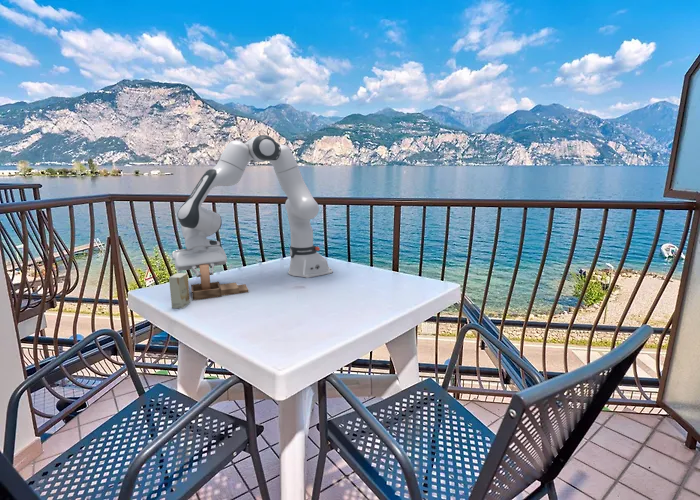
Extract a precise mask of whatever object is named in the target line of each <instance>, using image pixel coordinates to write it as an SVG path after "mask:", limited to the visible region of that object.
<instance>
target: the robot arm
mask: <svg viewBox="0 0 700 500" xmlns="http://www.w3.org/2000/svg"><path fill="white" fill-rule="evenodd" d="M249 162H254V163H263V162H264V163H265V162H269V163H270V164H271V165H272V167H273V170H274V173H275V175H276V178H277V180H278V183H279V185H280V187H281V190H282V191H283V193H284V194H285V195H286V197H287V199H286V200H285V205H284V207H285V209H286V212H287V213H286V214H287V218H288V223H289V228H290V229H289V230H290V231H289V232H290V245H289V257H290V261H289V262H290V263H289V268H288V272H287V273H288V274H289V275H290V276H293V277H300V278H301V277H302V278H307V279H308V278H309V279H310V278H314V277H318V276H323V275H324V276H325V275H329V274H333V268H331V267H330V266H329V263H328V260H327V259H326V258H325V257H324V256H323V255H322V254H320V253H319V251H320V250H321V248H320V247H319V246H316V245H314V229H313V227H312V224H311V221H310V220H312V219H314V218H315V217H317V215H318V214H319V211H320V210H319V209H320V206H319V204H318V202H317V201H316V200H315V198H314V197H313V195H312V193H311V191H310V189H309V187H308V186H307V184H306V183H305V180H304V178H303V175H302V172H301V170H300V167H299V165H298V162H297V160H296V158H295V156H294V154H293V152H292V149H290V147H289V146H288V145H285V144H279V143H278V142H277V141H275V139H274V138H273V137H271V136H269V135H268V134H266V135H265V134H261V135H256V136H253V137H252V138H249V139H248V140H246V141H245V142H242V141H240V140H231V141H229V143H227V145H226V146H225V148H224V150H223V152H222V153H221V156H220V157H219V159H218V161H217V163H216V164H215V166H214V167H213V168H209V169H207V170H206V171H205V172H204V174H203V175H202V176H201V178H200V179H199V180H198V182H197V184H196V186H195V187H194V188H193V190H192V192H191V193H190V195H189V196H188V198H187V199H186V200H185V202H184V203H183V204H182V205H181V206H180V208H179V209H178V210H177V215H176V216H177V219H178V222H179V224H180V227H181V234H182V236H183V238H184V245H185V248H181V249H175V250H173V251H172V252H171V256H172V258H173V260H174V267H175V270H177V271H178V272H183V271H188V270H191V271H192V273H194V274H195V276H196V278H200V277H201V273H200V270H197V269H200V267H199V265H202V264H208V265H209V273H210V276H214V268H215V266H216V267H217V266H224V265H226V264H227V261H228V257H227V254H226V251H225V250H224V248H223V247H222V246H221V243H220V241H219V240H214V239H208V238H207V237H210V236H213V235H214V234H216V233H217V232H218V231H220V229H221V227H222V222H223V221H222V217H221V215H220V214H219V213H218V212H215V211H213V210H210V209H207V208H204V207H202V205H203V203H204V201H206V198H207V196H208V195H209V194H210V192H211V190H213V189H214V188H217V187H232V186H234V185H237V184H238V183H239V182H240V181H241V180H242V177H243V175H244V173H245V170H246V168H247V165H248V164H249Z"/></svg>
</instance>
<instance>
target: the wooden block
mask: <svg viewBox="0 0 700 500" xmlns="http://www.w3.org/2000/svg"><path fill="white" fill-rule="evenodd" d="M199 267H200V268H199V271H200V273H201V277H199V278H200V284H201V290H209V289H211V286H210V283H211V275H210V273H209V270H210V267H209V265H208V264H202V265H199Z"/></svg>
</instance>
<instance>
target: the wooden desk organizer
mask: <svg viewBox="0 0 700 500" xmlns="http://www.w3.org/2000/svg"><path fill="white" fill-rule="evenodd" d="M210 286H211V289H209V290H201V283H194V284H193V283H192V284H190V287H191V296H192V297H191V300H192V301H199V300H206V299H207V300H209V299H215V298H222V297H223V296H231V295H232V296H233V295H238V294H240V295H241V294H247V293H249V291H250V290H249V288H248V286H247V284H245V283H244V284H243V283H242V284H237V282H229V283H221V284H220V281H212V282H211V281H210Z"/></svg>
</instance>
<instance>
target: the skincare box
mask: <svg viewBox="0 0 700 500" xmlns="http://www.w3.org/2000/svg"><path fill="white" fill-rule="evenodd" d="M168 280H169V281H168V282H169V289H170V291H169V292H170V302H171V309H184V308H186V306H188V305H190V304H191V299H190V288H189V287H190V285H189V276H188V272H187V273H185V272H177V273H174V274H172V275H171V276H170V277H169V278H168Z"/></svg>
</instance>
